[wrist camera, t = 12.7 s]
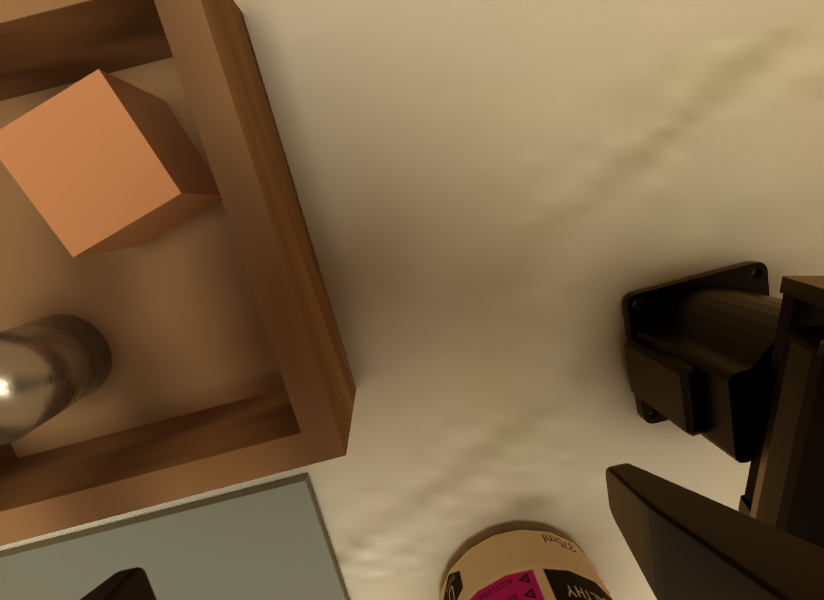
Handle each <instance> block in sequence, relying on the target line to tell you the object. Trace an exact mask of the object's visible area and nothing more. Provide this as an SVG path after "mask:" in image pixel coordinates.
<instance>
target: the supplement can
mask: <svg viewBox="0 0 824 600" xmlns="http://www.w3.org/2000/svg"><path fill="white" fill-rule="evenodd" d="M440 600H613V599H612V597H611V596H610V594H609V592H608V590H607V589H606V587H605V585H604V583H603V582H602V580H601V578H600V577H599V575H598V573H597V571H596V570H595V568H594V566H593V564H592V563H591V561H590V560H589V559H588V558H587V556H586V555H585V554H584V553H583V552H582V551H581V550H580V549H579V548H578V547H577V546H576V545H575V544H574V543H573V542H571V541H568V540H566V539H564V538H562V537H559V536H557V535H555V534H553V533H551V532H544V531H533V530H514V531H509V532H505V533H500V534H496V535H493V536H491V537H489V538H487V539H486V540H484V541H482V542H480V543H479V544H477V545H475V546H473V547H472V548H471V549H469V550H468V551H467V552H466V553H465V554H464V555H463V556H462V557H461V558H460V559H459V560H458V562H457V563H456V564H455V565H454V566H453V567H452V568H451V569H450V570H449V573H448V575H447V578H446V580H445V583H444V585H443V588H442V590H441V593H440Z"/></svg>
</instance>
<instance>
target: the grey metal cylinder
mask: <svg viewBox="0 0 824 600" xmlns="http://www.w3.org/2000/svg"><path fill="white" fill-rule="evenodd" d="M111 366H112V355H111V350H110V347H109V345H108V343H107V341H106V339H105V338H104V336H103V335H102V334H101V332H100V331H99V330H98V329H97V328H95V327H94V326H93V325H92V324H90V323H89V322H87V321H85V320H83V319H81V318H79V317H75V316H72V315H66V314H55V315H49V316H46V317H43V318H40V319H37V320H34V321H31V322H28V323H25V324H22V325H19V326H16V327H13V328H10V329H7V330H4V331H1V332H0V445H5V444H9V443H12V442H14V441H16V440H18V439H20V438H22V437H23V436H25V435H26V434H28V433H29V432H31V431H33V430H34V429H36V428H37V427H39V426H40V425H42V424H43V423H45V422H46V421H48V420H50V419H51V418H53V417H54V416H56V415H57V414H59V413H60V412H62V411H64V410H65V409H67V408H68V407H70V406H71V405H73V404H74V403H76V402H78V401H79V400H81V399H82V398H84V397H85V396H87V395H88V394H90V393H92V392H93V391H95V390H96V389H98V388H99V387H100V386H101V385H102V384H103V383H104V382H105V381H106V379H107V378H108V376H109V373H110V371H111Z"/></svg>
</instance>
